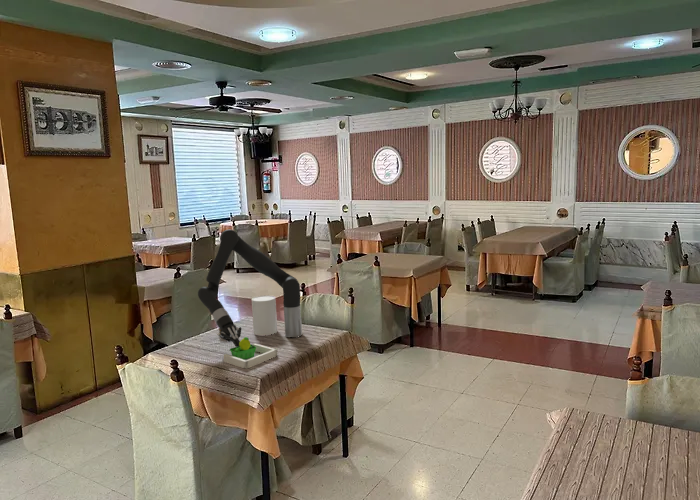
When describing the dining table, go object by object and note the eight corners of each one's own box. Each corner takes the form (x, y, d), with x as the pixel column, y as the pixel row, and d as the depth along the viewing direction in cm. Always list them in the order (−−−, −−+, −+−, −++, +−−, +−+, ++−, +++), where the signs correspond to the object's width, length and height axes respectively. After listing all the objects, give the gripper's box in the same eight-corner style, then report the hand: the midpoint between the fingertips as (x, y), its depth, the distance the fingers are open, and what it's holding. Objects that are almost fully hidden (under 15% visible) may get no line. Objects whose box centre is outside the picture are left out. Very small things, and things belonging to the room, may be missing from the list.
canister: (249, 334, 285) (247, 300, 282) (260, 327, 298) (258, 295, 295) (271, 336, 281) (268, 301, 278) (281, 329, 294) (279, 295, 291)
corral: (224, 361, 245) (223, 354, 244) (255, 349, 260) (255, 343, 259) (245, 369, 234) (245, 361, 234) (277, 356, 250) (277, 349, 249)
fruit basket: (250, 353, 255) (249, 331, 254) (258, 357, 248) (257, 335, 247) (229, 358, 249) (228, 336, 247) (237, 363, 242) (235, 341, 240)
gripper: (214, 317, 251) (231, 345, 245) (235, 311, 261) (252, 338, 255) (208, 326, 255) (225, 354, 249) (230, 319, 265) (246, 346, 259)
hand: (239, 346), depth 252 cm, fingers closed
